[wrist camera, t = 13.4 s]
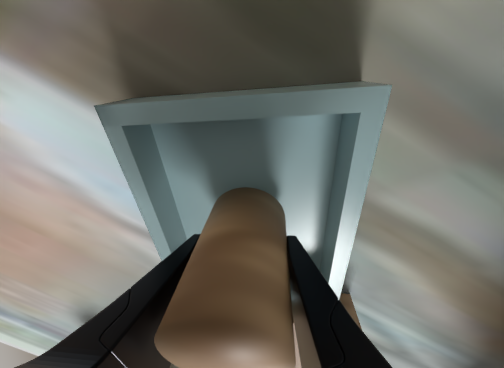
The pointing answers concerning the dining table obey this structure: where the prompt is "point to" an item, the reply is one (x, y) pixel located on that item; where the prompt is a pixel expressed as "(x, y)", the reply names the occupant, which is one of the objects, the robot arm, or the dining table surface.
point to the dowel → (234, 290)
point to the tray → (253, 159)
